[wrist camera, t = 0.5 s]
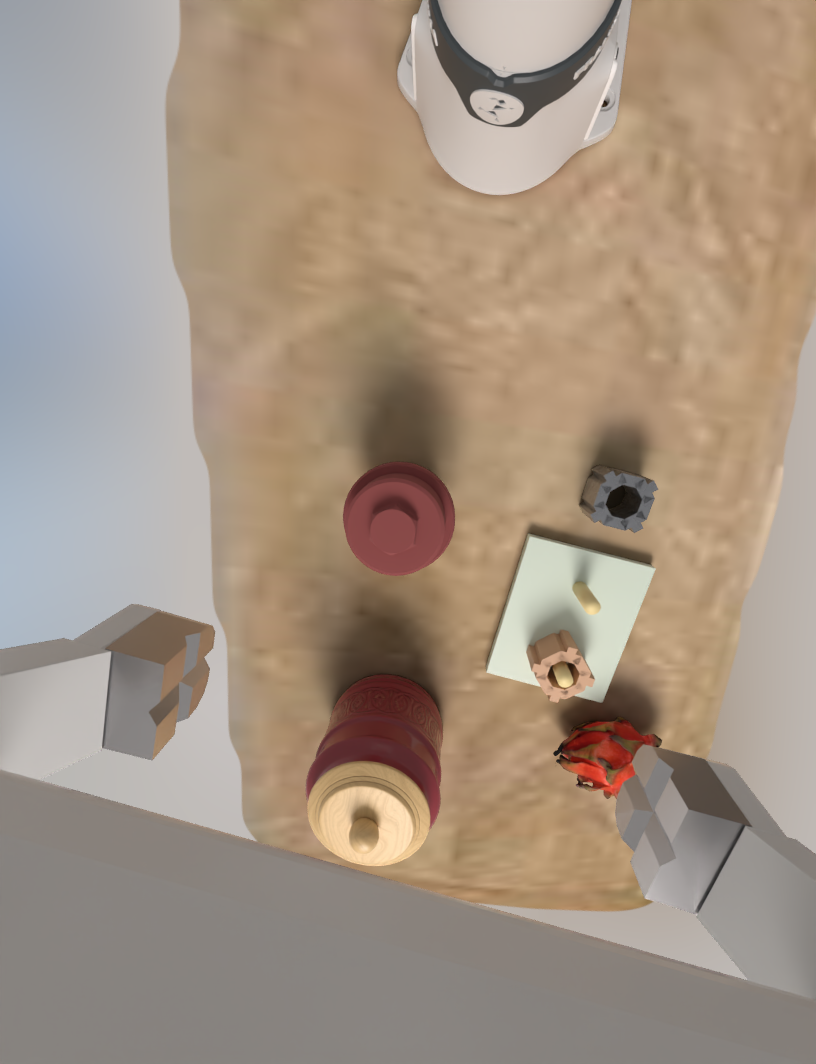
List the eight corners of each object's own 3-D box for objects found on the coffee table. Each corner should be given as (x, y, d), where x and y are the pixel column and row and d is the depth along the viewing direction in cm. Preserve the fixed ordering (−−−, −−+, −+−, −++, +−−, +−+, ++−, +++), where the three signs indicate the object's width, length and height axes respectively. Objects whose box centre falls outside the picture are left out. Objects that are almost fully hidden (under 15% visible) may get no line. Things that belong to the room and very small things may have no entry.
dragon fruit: (656, 742, 59) (550, 720, 61) (682, 715, 52) (562, 692, 55) (662, 823, 53) (546, 795, 56) (690, 805, 47) (557, 774, 49)
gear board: (528, 533, 52) (537, 550, 46) (651, 564, 52) (676, 586, 46) (485, 666, 56) (489, 698, 50) (599, 696, 56) (616, 732, 50)
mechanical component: (364, 447, 51) (461, 460, 51) (355, 541, 54) (447, 554, 53) (337, 461, 40) (463, 479, 39) (327, 580, 42) (445, 598, 42)
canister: (415, 783, 61) (400, 931, 44) (317, 740, 61) (264, 871, 44) (462, 699, 58) (465, 824, 41) (359, 653, 57) (318, 758, 40)
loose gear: (593, 462, 50) (606, 468, 45) (642, 475, 50) (660, 482, 45) (576, 511, 51) (587, 521, 47) (625, 523, 51) (640, 534, 47)
